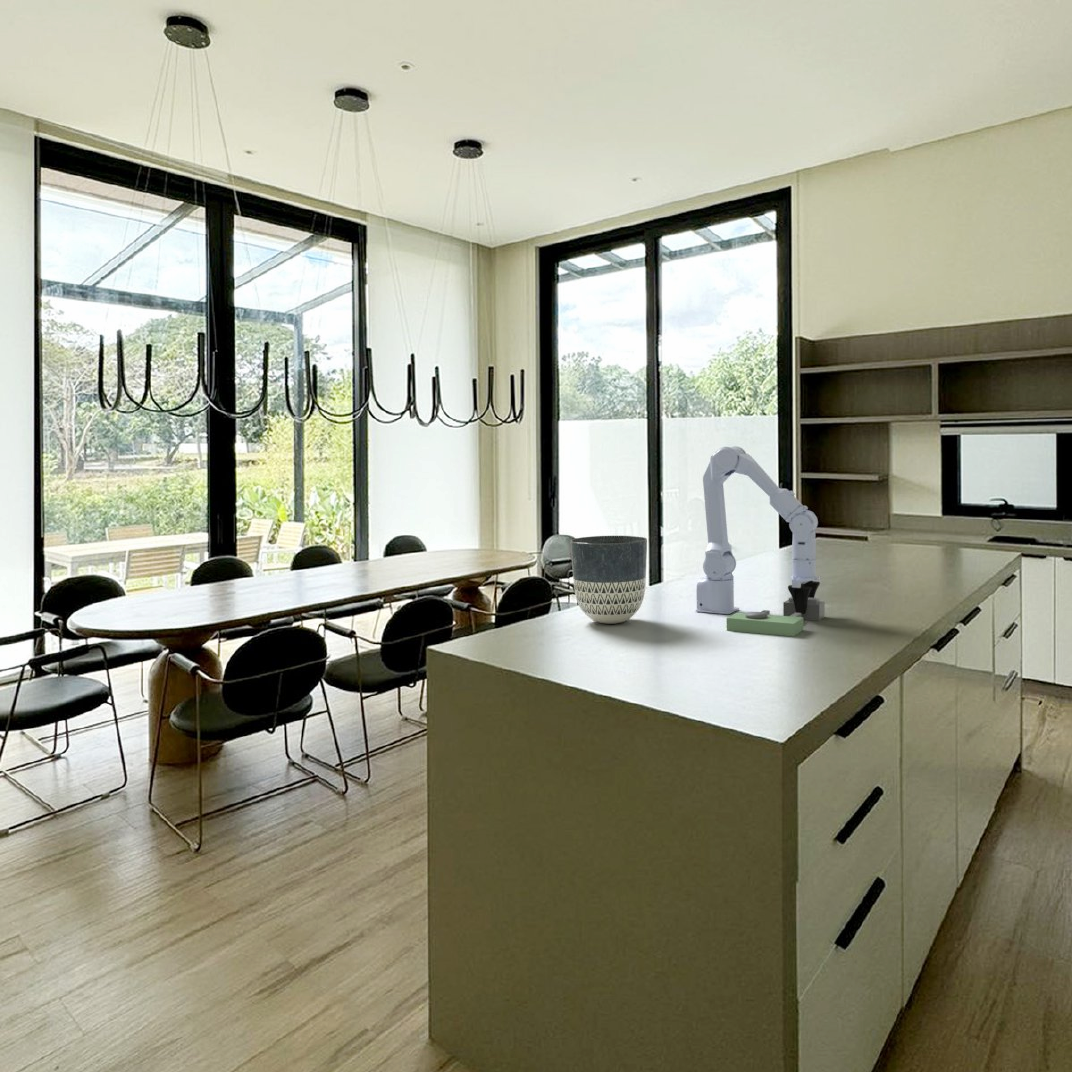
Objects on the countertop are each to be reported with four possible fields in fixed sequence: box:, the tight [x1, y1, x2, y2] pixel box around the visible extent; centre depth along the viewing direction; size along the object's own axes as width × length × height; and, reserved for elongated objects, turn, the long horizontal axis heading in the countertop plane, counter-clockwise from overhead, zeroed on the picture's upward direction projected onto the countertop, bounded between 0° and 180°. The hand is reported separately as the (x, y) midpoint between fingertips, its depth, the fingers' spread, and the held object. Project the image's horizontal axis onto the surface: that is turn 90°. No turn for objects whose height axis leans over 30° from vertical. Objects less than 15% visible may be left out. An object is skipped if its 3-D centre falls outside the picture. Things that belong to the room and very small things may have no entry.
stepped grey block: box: [782, 596, 826, 621], centre depth 211 cm, size 5×9×5 cm, turn 57°
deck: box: [726, 609, 804, 637], centre depth 202 cm, size 16×18×4 cm
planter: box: [569, 535, 648, 625], centre depth 212 cm, size 20×20×21 cm
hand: (803, 611), depth 211 cm, fingers closed on stepped grey block, 5 cm apart
